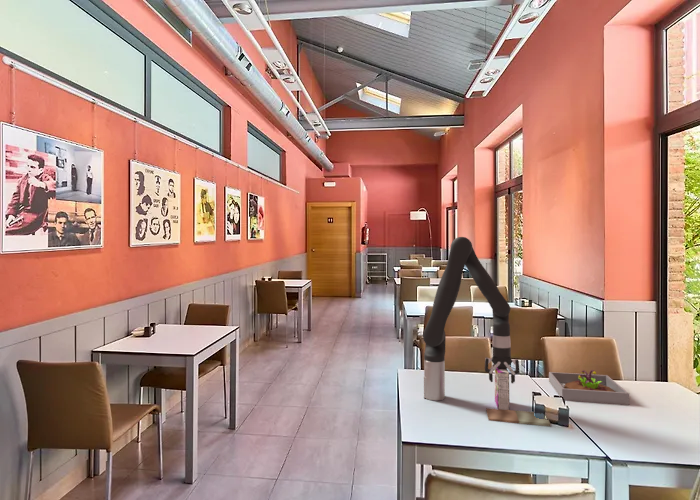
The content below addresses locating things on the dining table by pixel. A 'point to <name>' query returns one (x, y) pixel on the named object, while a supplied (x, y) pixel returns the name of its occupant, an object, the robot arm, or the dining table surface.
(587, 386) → the plant
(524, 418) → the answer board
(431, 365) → the robot arm
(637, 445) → the dining table surface
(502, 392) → the candy bar box
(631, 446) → the dining table surface
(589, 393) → the planter frame
